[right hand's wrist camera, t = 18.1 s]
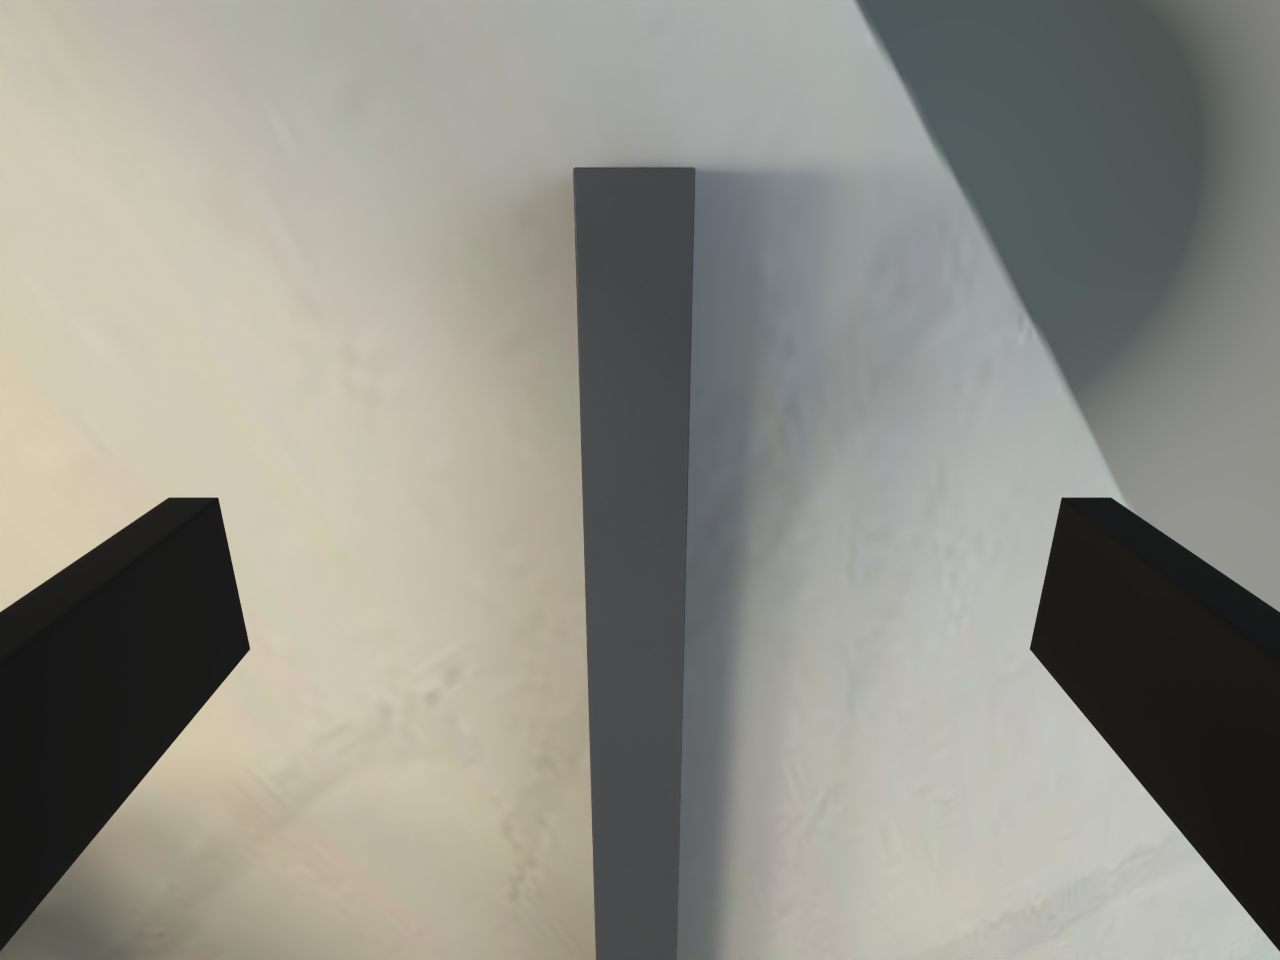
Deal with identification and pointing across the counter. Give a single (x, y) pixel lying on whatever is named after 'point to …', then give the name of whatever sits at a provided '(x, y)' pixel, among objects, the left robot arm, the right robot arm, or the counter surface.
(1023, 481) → the counter surface
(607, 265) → the beam
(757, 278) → the counter surface
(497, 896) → the counter surface
